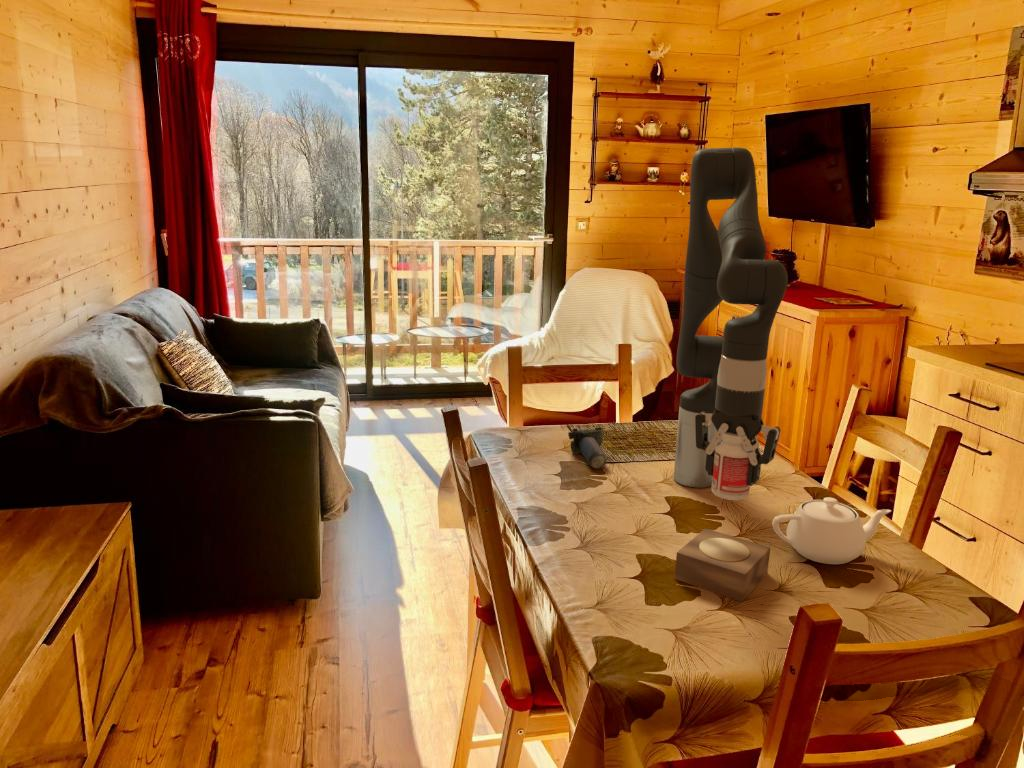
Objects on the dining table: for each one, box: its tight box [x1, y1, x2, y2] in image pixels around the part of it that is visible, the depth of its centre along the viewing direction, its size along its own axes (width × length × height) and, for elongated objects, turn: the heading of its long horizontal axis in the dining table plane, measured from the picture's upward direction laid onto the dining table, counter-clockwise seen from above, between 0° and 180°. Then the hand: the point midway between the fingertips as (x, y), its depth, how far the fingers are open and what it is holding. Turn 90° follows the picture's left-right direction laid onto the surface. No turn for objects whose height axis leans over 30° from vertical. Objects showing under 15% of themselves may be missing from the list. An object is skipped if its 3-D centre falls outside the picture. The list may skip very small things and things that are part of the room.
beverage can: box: [567, 426, 608, 469], centre depth 192 cm, size 9×8×12 cm
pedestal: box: [674, 528, 771, 602], centre depth 139 cm, size 12×12×5 cm
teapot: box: [772, 496, 892, 565], centre depth 148 cm, size 22×14×11 cm, turn 94°
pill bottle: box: [711, 432, 751, 501], centre depth 134 cm, size 6×6×11 cm
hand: (731, 478), depth 135 cm, fingers closed on pill bottle, 6 cm apart
